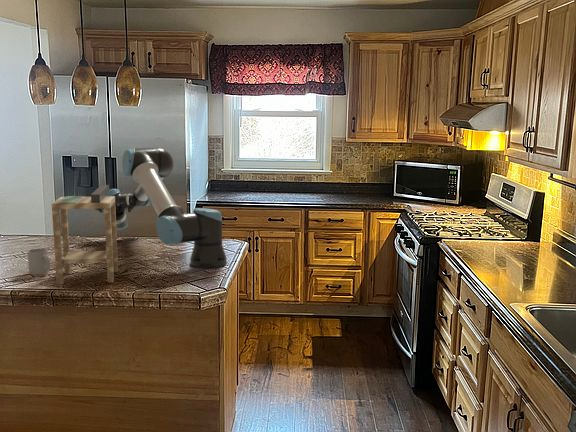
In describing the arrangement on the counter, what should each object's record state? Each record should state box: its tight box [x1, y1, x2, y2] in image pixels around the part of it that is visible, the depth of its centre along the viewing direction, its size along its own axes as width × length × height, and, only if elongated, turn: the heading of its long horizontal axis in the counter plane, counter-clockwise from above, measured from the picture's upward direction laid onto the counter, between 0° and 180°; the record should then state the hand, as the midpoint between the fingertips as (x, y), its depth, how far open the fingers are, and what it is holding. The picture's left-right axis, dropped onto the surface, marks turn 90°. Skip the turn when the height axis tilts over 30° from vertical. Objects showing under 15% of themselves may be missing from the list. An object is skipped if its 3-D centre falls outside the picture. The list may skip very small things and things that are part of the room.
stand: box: [51, 195, 119, 285], centre depth 218 cm, size 20×16×30 cm
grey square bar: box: [90, 184, 110, 203], centre depth 222 cm, size 3×26×3 cm, turn 10°
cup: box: [27, 248, 51, 276], centre depth 225 cm, size 7×10×9 cm
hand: (110, 197), depth 252 cm, fingers open, 13 cm apart
